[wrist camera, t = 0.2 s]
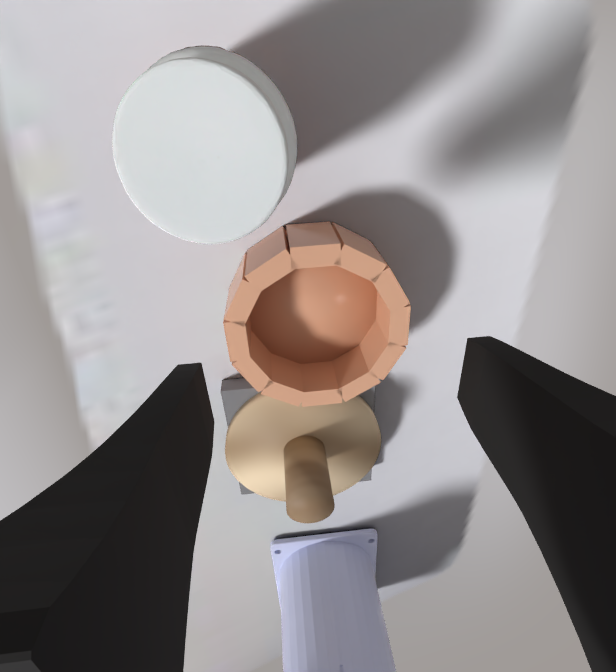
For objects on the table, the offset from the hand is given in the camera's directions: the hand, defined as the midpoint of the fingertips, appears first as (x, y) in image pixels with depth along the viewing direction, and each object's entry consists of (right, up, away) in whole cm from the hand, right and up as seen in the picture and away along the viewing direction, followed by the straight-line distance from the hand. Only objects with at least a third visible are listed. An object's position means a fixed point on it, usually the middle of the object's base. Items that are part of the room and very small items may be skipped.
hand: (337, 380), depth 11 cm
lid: (-1, -5, +13) cm, 14 cm away
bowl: (-1, +3, +10) cm, 10 cm away
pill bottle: (-4, +10, +6) cm, 12 cm away
